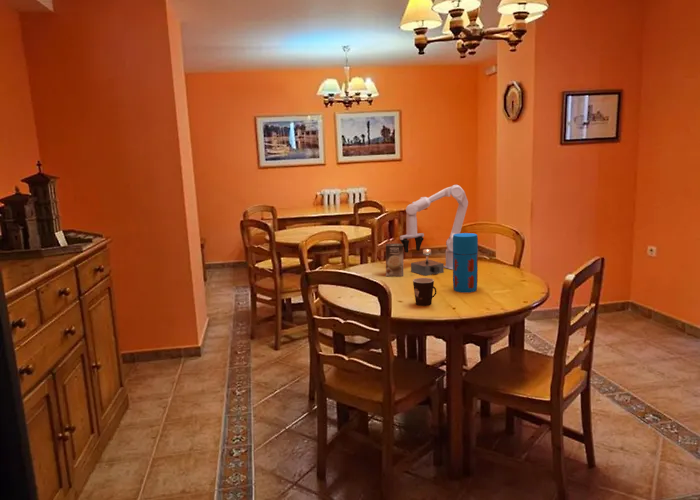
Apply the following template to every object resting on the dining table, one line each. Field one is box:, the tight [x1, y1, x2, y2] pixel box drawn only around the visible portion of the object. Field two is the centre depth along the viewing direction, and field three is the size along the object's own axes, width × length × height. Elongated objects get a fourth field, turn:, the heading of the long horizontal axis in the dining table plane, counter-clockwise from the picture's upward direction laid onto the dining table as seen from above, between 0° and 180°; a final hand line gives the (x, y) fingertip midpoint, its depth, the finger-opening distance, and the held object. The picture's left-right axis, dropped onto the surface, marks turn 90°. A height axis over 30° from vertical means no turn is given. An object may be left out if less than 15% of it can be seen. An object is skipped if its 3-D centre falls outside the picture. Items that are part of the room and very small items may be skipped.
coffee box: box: [385, 243, 404, 277], centre depth 264 cm, size 9×6×16 cm
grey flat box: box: [410, 259, 445, 277], centre depth 268 cm, size 12×14×5 cm
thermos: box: [452, 232, 479, 294], centre depth 231 cm, size 11×11×25 cm
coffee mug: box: [412, 277, 437, 307], centre depth 211 cm, size 12×9×10 cm
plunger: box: [422, 248, 432, 264], centre depth 268 cm, size 4×4×8 cm
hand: (412, 251), depth 279 cm, fingers open, 7 cm apart
